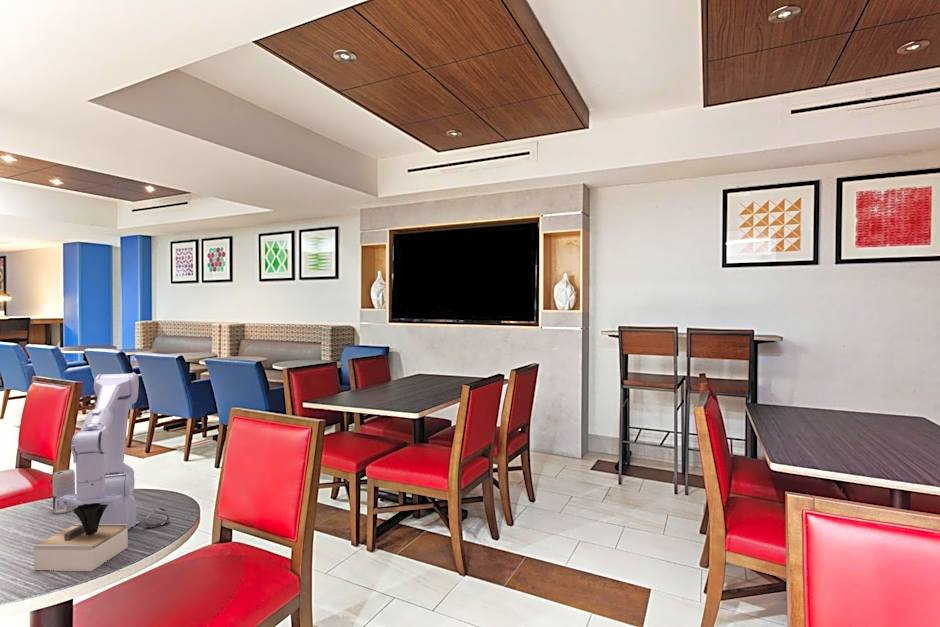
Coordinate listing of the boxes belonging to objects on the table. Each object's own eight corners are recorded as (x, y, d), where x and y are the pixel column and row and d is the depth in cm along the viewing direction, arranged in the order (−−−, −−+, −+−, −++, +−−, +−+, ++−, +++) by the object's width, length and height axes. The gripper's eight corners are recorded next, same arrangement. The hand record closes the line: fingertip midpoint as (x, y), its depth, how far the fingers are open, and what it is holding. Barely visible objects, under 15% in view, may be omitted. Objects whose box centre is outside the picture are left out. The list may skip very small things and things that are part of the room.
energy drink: (64, 506, 158) (64, 468, 158) (79, 507, 158) (79, 469, 158) (48, 513, 153) (47, 474, 153) (63, 514, 152) (63, 475, 152)
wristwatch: (170, 524, 145) (170, 507, 145) (145, 531, 141) (145, 513, 141) (167, 520, 148) (167, 503, 147) (142, 527, 143) (142, 509, 143)
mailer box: (75, 546, 132) (75, 523, 132) (127, 547, 131) (127, 524, 131) (34, 570, 120) (33, 545, 120) (91, 571, 119) (91, 546, 119)
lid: (72, 528, 131) (72, 519, 131) (124, 528, 130) (124, 520, 130) (37, 546, 120) (37, 537, 120) (94, 547, 120) (93, 538, 120)
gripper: (48, 484, 121) (49, 540, 121) (107, 484, 121) (108, 540, 121) (72, 474, 128) (73, 527, 129) (128, 474, 128) (128, 528, 128)
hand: (91, 533), depth 125 cm, fingers closed
